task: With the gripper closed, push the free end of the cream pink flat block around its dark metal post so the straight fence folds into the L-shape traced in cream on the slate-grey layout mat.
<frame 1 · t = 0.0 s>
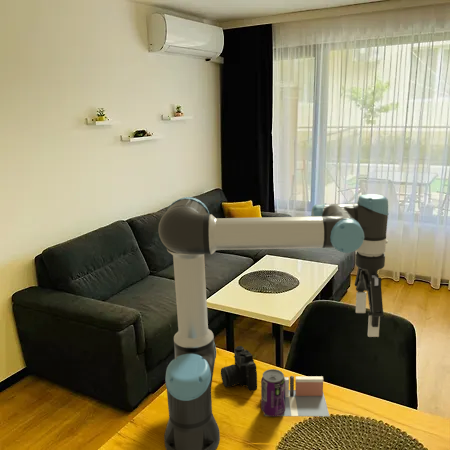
hand: (366, 323, 122), 28 cm above the table, fingers open, 13 cm apart
camera: (237, 381, 145), on the table
cream pink flat block: (309, 386, 135), point 4 cm above the table, hinge at 0.0°
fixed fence: (291, 395, 136), resting on layout mat
layout mat: (294, 403, 133), on the table
beverage can: (273, 410, 130), resting on layout mat
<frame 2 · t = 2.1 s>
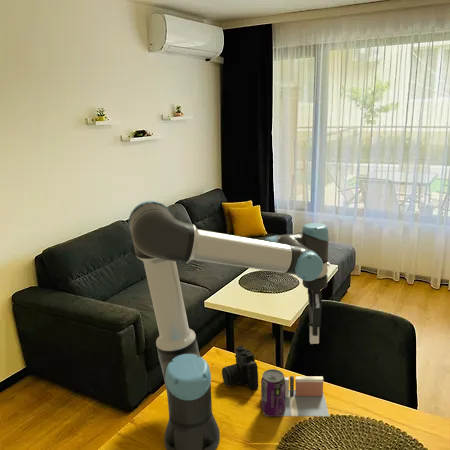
hand: (314, 342, 139), 15 cm above the table, fingers closed
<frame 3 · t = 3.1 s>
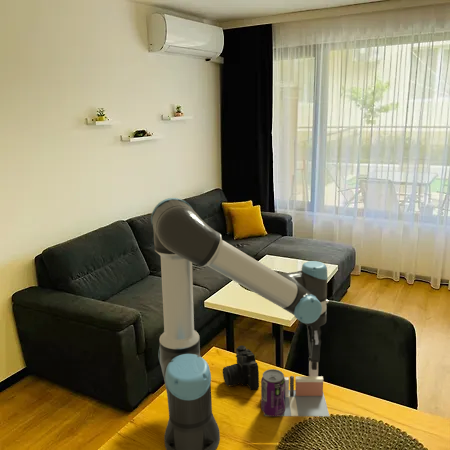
hand: (313, 375, 142), 2 cm above the table, fingers closed
nothing on the table moved.
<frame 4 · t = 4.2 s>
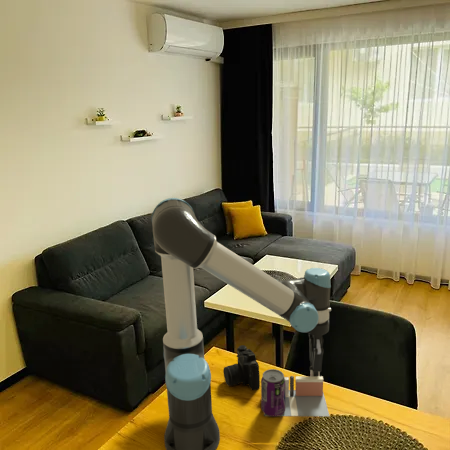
hand: (314, 385, 138), 2 cm above the table, fingers closed
cream pink flat block: (309, 386, 135), point 4 cm above the table, hinge at 0.0°, touching gripper
everything else where it was.
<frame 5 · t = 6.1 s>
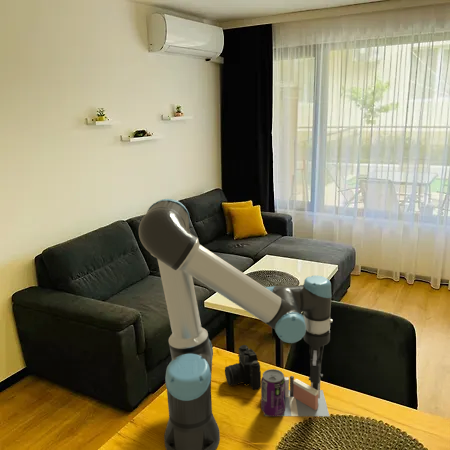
hand: (315, 396, 133), 2 cm above the table, fingers closed
cream pink flat block: (305, 394, 132), point 4 cm above the table, hinge at 45.5°, touching gripper
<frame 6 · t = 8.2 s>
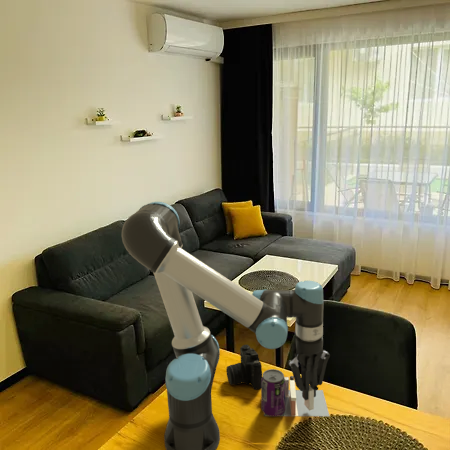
hand: (309, 406, 128), 2 cm above the table, fingers closed
cream pink flat block: (292, 397, 130), point 4 cm above the table, hinge at 92.5°
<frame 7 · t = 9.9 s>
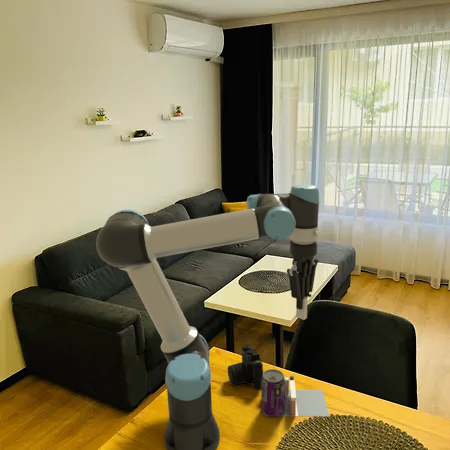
hand: (301, 317, 127), 28 cm above the table, fingers closed
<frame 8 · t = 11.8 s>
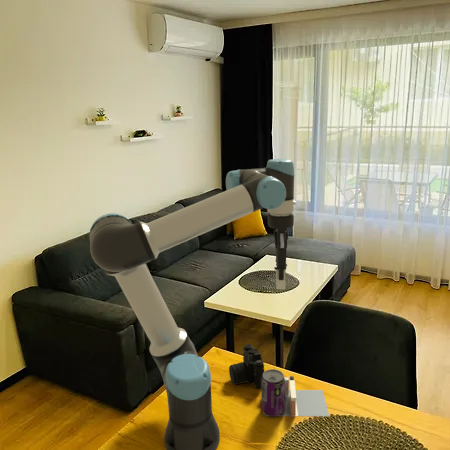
hand: (280, 288, 132), 34 cm above the table, fingers closed
at the end: cream pink flat block at +92° (first picture: +0°) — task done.
